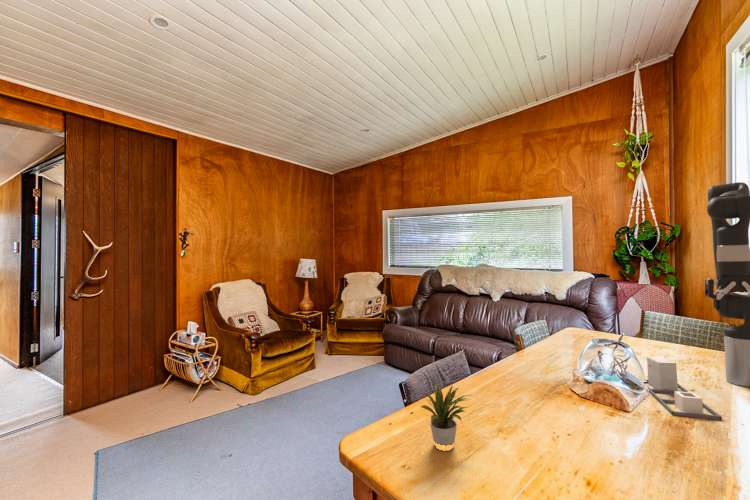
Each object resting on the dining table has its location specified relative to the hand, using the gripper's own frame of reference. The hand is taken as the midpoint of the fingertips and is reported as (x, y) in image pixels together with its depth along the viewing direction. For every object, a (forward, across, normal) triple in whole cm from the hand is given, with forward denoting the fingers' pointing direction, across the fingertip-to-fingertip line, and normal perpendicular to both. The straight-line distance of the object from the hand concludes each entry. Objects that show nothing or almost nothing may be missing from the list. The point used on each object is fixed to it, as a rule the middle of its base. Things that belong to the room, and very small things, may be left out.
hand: (736, 311), depth 110 cm
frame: (+31, +15, -6) cm, 35 cm away
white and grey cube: (+31, +15, +4) cm, 35 cm away
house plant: (+30, +84, +50) cm, 102 cm away
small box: (+31, +15, -16) cm, 38 cm away
